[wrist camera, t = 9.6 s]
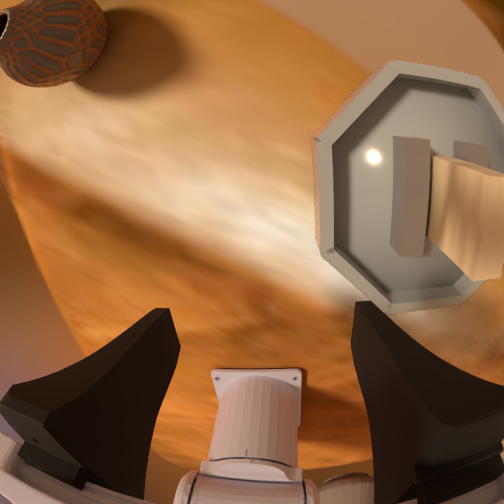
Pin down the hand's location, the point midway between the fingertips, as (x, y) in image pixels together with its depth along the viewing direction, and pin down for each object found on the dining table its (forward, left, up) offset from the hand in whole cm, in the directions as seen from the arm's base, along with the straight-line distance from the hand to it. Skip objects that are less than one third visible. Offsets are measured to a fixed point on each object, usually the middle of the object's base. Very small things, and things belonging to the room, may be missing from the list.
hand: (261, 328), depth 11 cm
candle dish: (+3, -11, -9) cm, 15 cm away
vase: (+16, +12, -10) cm, 22 cm away
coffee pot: (-38, -10, -10) cm, 40 cm away
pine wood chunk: (+3, -11, -8) cm, 14 cm away
